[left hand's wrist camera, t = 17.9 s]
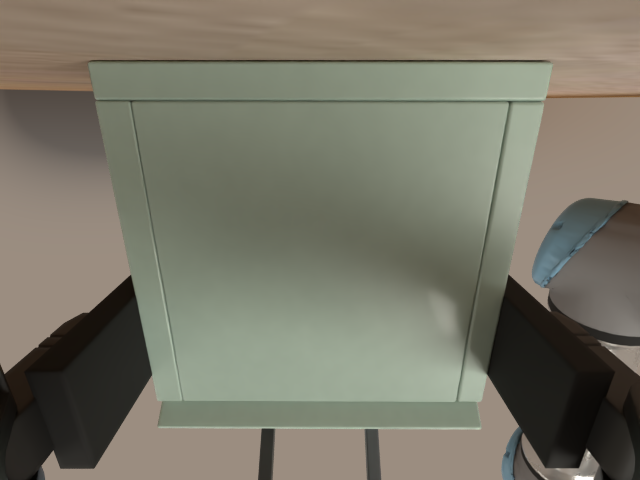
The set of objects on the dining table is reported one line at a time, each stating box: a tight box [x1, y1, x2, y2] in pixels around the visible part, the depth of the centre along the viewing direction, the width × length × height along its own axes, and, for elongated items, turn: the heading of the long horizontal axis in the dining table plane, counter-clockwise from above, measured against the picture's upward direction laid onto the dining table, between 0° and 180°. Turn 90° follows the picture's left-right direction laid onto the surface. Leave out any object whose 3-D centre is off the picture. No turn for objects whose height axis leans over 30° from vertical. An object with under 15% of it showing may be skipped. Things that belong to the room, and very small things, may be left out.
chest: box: [88, 61, 553, 402], centre depth 15 cm, size 13×10×10 cm
